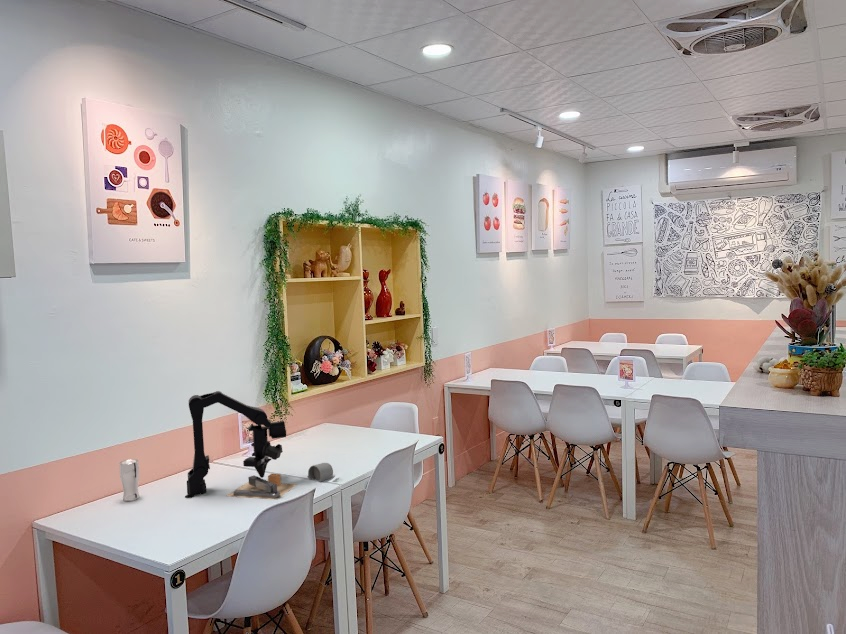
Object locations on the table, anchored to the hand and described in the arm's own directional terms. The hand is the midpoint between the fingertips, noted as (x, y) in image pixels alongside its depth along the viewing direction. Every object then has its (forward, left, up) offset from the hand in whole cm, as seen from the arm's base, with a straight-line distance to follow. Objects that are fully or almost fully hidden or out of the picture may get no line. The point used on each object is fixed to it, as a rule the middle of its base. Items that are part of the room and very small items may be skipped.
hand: (262, 477), depth 267 cm
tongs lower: (+5, -14, -2) cm, 15 cm away
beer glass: (-45, -23, -4) cm, 51 cm away
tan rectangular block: (+6, -1, -2) cm, 7 cm away
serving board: (+4, -7, -4) cm, 9 cm away
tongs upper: (+5, -9, -1) cm, 11 cm away
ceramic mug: (+20, +10, -4) cm, 23 cm away
